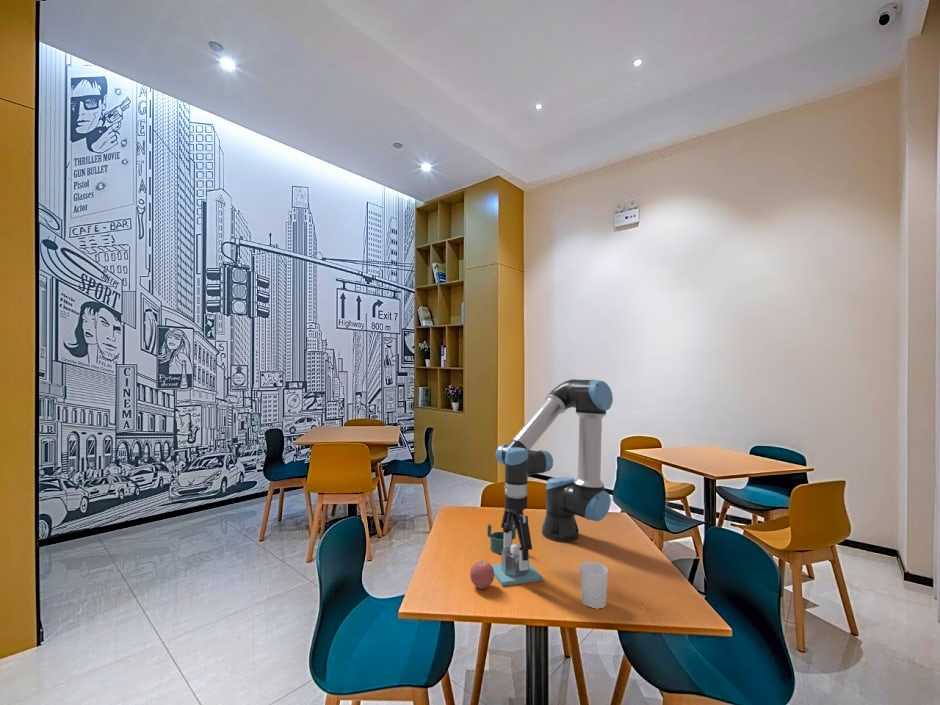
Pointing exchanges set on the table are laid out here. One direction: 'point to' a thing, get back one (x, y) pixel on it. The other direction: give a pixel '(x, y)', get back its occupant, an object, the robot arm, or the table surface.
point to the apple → (482, 574)
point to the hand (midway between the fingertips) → (515, 560)
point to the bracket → (498, 539)
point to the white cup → (594, 584)
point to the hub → (512, 564)
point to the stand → (509, 580)
